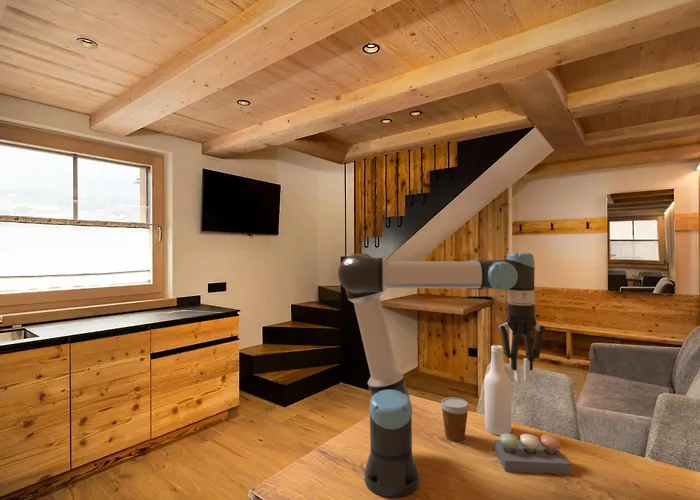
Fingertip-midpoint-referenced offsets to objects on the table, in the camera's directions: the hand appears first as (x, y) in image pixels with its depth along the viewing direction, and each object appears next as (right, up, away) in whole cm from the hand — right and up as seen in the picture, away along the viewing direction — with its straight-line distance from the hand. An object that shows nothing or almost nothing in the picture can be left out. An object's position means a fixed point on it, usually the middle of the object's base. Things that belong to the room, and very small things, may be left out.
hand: (522, 380), depth 115 cm
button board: (+2, -24, 0) cm, 25 cm away
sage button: (-4, -22, 0) cm, 23 cm away
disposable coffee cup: (-16, -25, +15) cm, 33 cm away
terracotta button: (+8, -22, -1) cm, 24 cm away
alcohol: (0, -25, +19) cm, 31 cm away
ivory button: (+2, -22, 0) cm, 23 cm away
